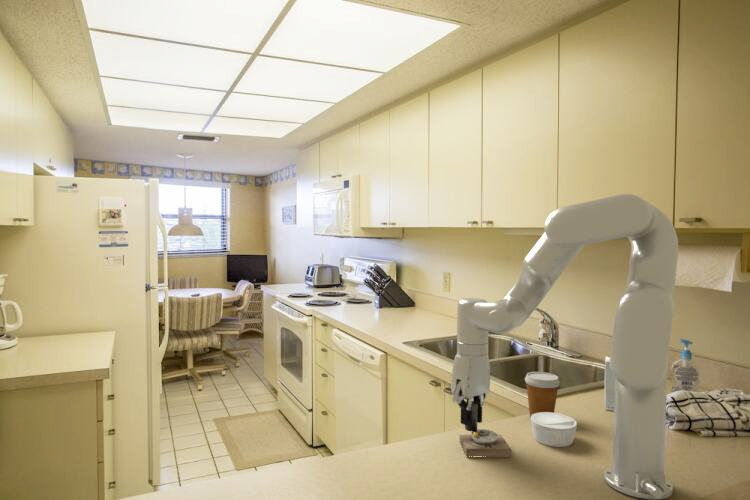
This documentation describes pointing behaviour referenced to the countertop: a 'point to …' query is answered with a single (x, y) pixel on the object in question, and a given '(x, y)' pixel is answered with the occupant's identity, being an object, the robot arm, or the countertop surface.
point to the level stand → (485, 447)
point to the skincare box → (609, 386)
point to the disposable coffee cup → (541, 391)
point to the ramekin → (553, 429)
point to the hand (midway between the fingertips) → (471, 422)
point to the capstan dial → (481, 434)
